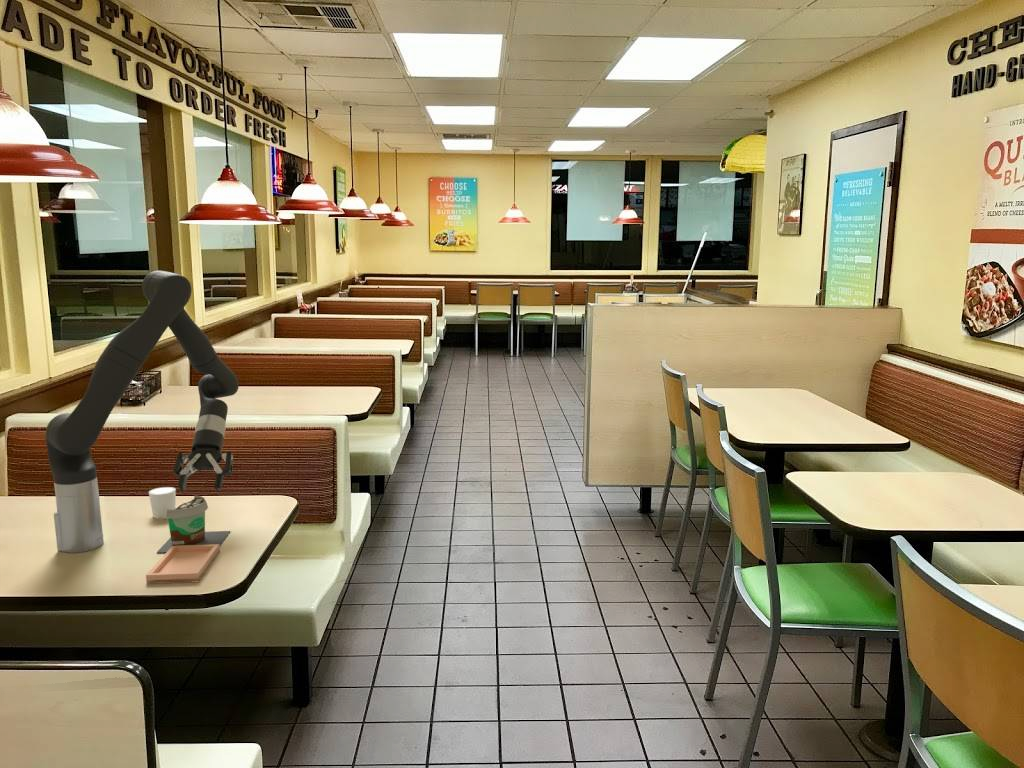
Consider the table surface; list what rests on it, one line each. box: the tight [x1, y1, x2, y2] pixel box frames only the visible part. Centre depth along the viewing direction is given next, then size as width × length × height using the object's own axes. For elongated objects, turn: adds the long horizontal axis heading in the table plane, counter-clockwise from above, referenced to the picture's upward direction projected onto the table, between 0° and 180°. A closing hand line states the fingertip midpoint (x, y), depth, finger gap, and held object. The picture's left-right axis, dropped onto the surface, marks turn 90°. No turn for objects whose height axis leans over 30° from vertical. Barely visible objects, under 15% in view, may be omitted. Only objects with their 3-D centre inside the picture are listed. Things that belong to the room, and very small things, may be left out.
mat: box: [156, 530, 231, 554], centre depth 193 cm, size 14×13×1 cm
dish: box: [145, 544, 221, 585], centre depth 178 cm, size 11×17×2 cm, turn 5°
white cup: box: [148, 486, 177, 518], centre depth 213 cm, size 7×7×7 cm
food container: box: [165, 494, 209, 546], centre depth 192 cm, size 12×6×10 cm, turn 168°
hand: (199, 489), depth 198 cm, fingers open, 8 cm apart
